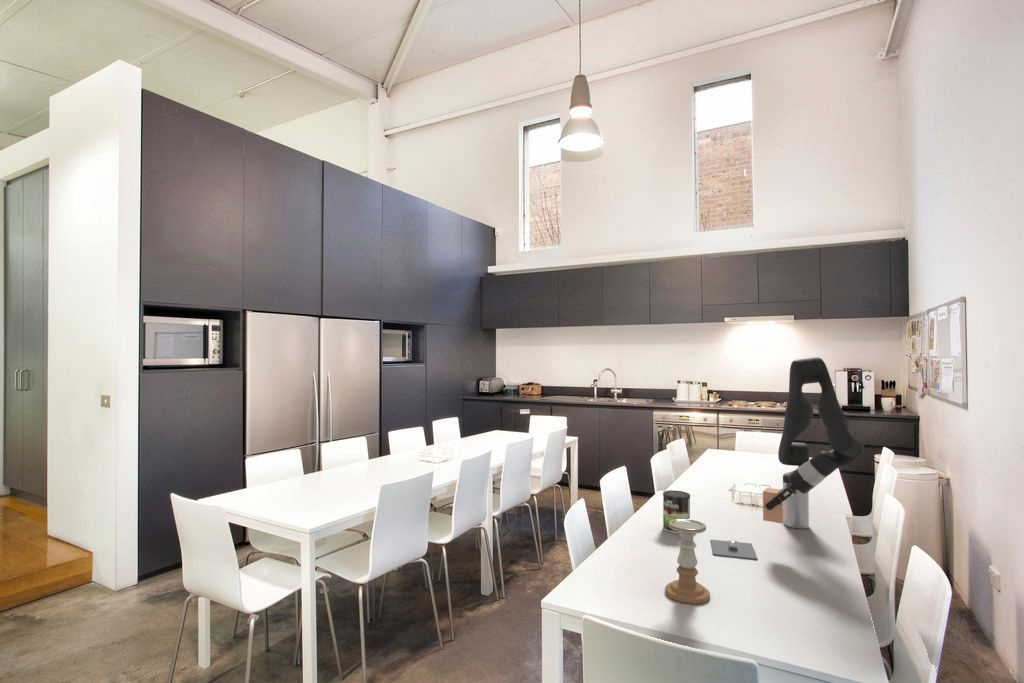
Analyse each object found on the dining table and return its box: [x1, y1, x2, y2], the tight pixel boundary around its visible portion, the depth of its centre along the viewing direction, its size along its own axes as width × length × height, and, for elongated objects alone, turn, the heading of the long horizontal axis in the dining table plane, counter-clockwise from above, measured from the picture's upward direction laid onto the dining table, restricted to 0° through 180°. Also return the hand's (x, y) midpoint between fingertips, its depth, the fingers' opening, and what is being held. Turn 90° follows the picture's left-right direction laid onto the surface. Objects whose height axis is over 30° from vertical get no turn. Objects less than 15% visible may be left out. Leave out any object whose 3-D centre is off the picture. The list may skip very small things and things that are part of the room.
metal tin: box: [727, 539, 738, 550], centre depth 190 cm, size 3×3×2 cm
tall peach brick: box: [762, 487, 787, 525], centre depth 188 cm, size 6×6×10 cm
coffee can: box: [662, 489, 691, 535], centre depth 212 cm, size 10×10×14 cm
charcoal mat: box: [710, 539, 759, 561], centre depth 190 cm, size 15×14×1 cm
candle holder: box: [664, 519, 711, 605], centre depth 155 cm, size 12×12×20 cm
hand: (769, 505), depth 189 cm, fingers closed on tall peach brick, 6 cm apart
